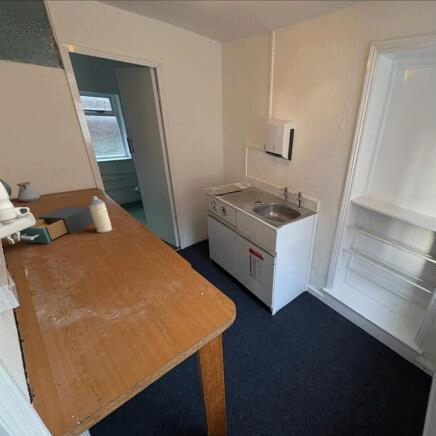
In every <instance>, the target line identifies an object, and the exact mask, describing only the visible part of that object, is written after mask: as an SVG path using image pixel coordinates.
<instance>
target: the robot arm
mask: <svg viewBox="0 0 436 436" xmlns="http://www.w3.org/2000/svg"><path fill="white" fill-rule="evenodd" d="M12 190H13V189H12V188H11V186H10V184H8V183H7V182H6V181H4V180H2V179H1V178H0V240H1V239H4V240H5V241H7V242H8V244H9V245H14V244H17V243H18V242H20V241H21V240H20V239H19V236H21V235H20V232H19V231H21V230H24V229H26V228H28V227H31V226H33V225H35V224H36V221H37V220H36V219H35V217H34V216H35V215H34V214H33V213H32V212H31V209H30V208H29V207H25V206H14V204H13V203H12V202H11V200H10V198H11V196H12ZM11 235H13V238H12V236H11Z"/></svg>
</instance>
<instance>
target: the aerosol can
mask: <svg viewBox="0 0 436 436" xmlns="http://www.w3.org/2000/svg"><path fill="white" fill-rule="evenodd" d="M88 208H89V211H90V214H91V217H92V220H93V223H94V226H95V230H96V233H97V234H106V233H109V232H112V231H113V227H112V223H111V219H110V216H109V212H108V209H107V206H106V203H105V201H104V200H103V199H100V198H98V196H95V195H94V196H92V199H91V200H90V201H89V202H88Z"/></svg>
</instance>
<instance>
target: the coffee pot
mask: <svg viewBox="0 0 436 436" xmlns="http://www.w3.org/2000/svg"><path fill="white" fill-rule="evenodd" d="M15 185H16V186H17V187H19V188H18V193H17V194H18V195H17V200H18V201H20V202H23V203H32V202H37V201H39V200H40V199H41V196H42V194H40V193H39V192H38V191H37V190H36V189H35V188H33V187H32V186H31V182H30V181H25V182H19V183H16V184H15Z"/></svg>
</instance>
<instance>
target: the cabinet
mask: <svg viewBox="0 0 436 436" xmlns="http://www.w3.org/2000/svg"><path fill="white" fill-rule="evenodd" d="M43 218H44V219H64V222H65V224H66V227H67V230H68V232H67V233H65V234H64V235H72V234H75V233H76V232H77V231H80V230H81V229H84V228H85V227H88V226H90V225H91V224H93V223H94V220H93V217H92V214H91V211H90V208H89V207H86V206H85V207H81V206H64V207H60V208H57V209H55V210H53V211H50V212H48V213H45V214H42V215H40V216H38V220H40V219H43Z"/></svg>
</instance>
